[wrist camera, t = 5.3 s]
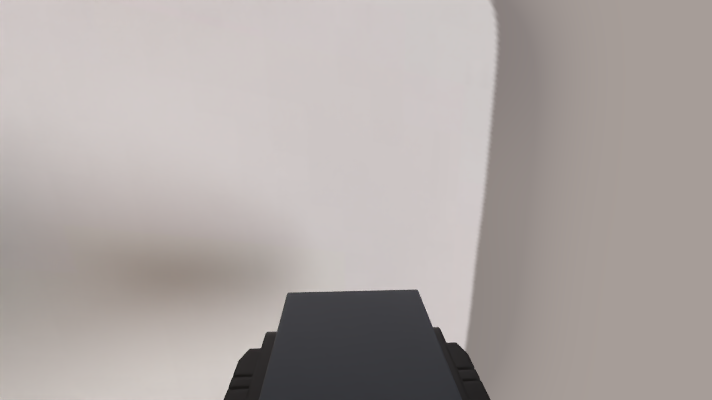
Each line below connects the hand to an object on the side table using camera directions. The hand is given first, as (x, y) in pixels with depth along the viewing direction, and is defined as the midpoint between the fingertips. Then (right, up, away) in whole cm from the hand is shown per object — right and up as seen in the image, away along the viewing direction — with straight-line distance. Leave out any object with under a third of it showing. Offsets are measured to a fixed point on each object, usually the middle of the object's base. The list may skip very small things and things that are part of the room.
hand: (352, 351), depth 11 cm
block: (0, 0, 0) cm, 0 cm away
